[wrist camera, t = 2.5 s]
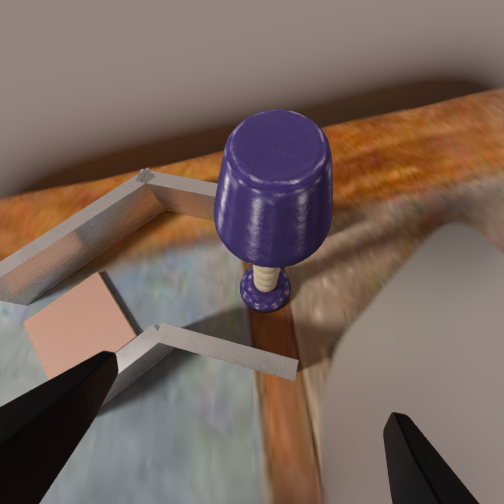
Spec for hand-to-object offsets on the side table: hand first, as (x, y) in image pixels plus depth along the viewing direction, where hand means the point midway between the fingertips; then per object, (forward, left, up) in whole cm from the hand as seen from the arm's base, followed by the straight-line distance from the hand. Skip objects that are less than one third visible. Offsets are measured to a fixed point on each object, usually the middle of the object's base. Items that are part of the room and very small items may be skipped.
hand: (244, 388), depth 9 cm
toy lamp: (+6, -2, -13) cm, 14 cm away
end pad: (+6, +14, -13) cm, 20 cm away
